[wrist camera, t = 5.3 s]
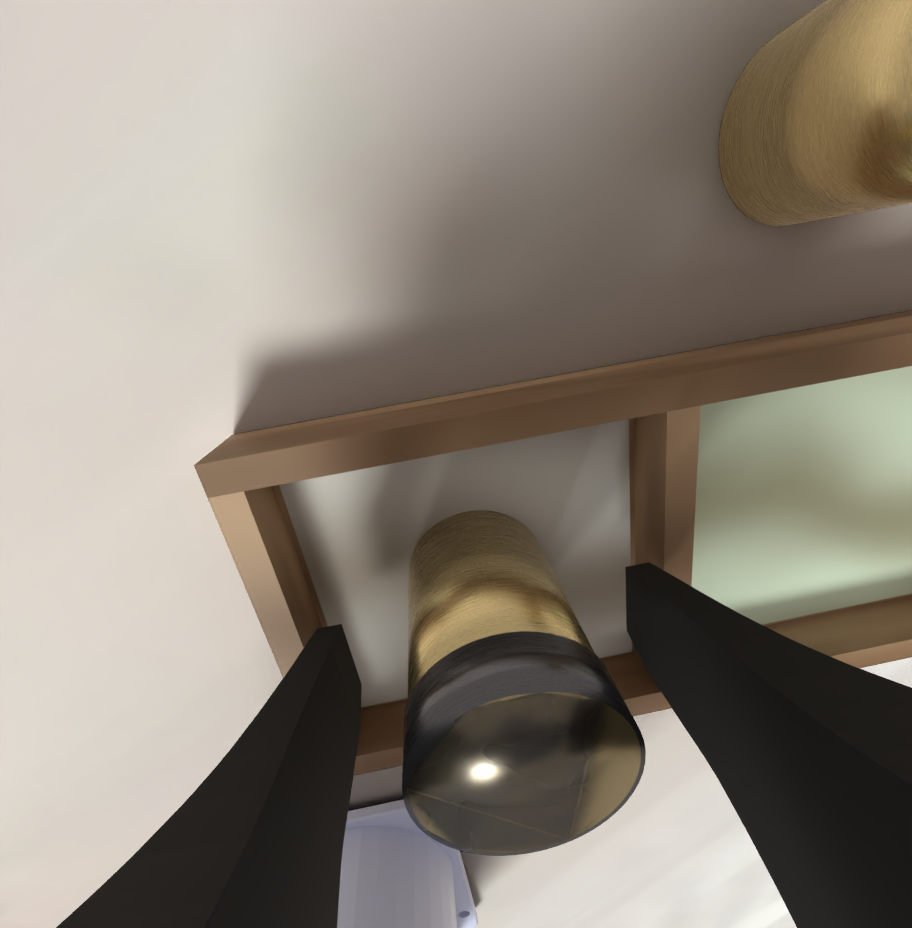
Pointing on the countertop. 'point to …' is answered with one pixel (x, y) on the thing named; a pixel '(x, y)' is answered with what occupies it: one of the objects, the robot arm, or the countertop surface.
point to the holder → (599, 502)
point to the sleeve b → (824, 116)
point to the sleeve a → (506, 698)
